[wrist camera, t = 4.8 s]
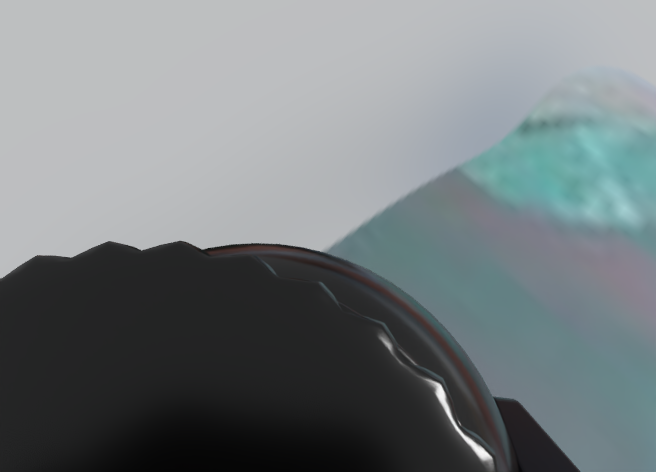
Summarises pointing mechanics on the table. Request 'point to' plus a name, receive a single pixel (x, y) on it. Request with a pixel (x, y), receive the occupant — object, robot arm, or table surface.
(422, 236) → the table surface
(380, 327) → the supplement bottle
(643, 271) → the table surface
